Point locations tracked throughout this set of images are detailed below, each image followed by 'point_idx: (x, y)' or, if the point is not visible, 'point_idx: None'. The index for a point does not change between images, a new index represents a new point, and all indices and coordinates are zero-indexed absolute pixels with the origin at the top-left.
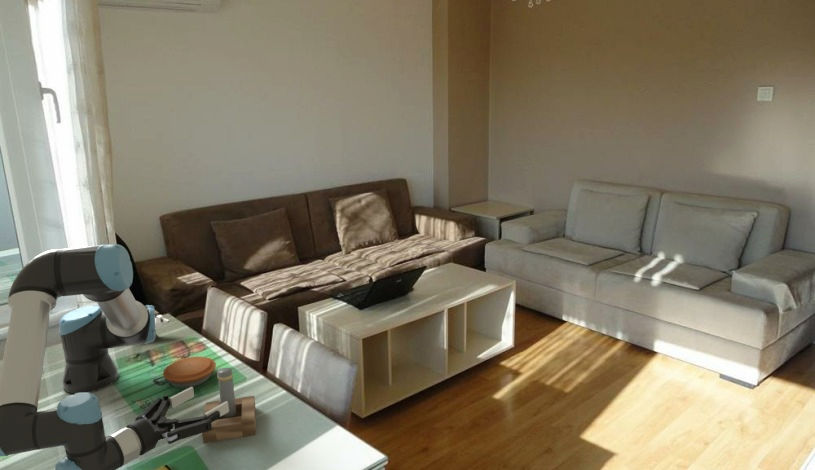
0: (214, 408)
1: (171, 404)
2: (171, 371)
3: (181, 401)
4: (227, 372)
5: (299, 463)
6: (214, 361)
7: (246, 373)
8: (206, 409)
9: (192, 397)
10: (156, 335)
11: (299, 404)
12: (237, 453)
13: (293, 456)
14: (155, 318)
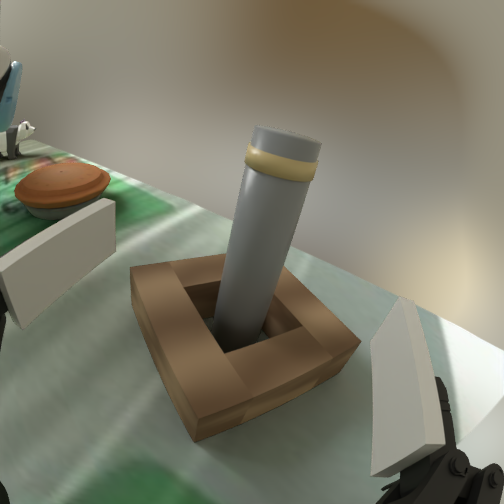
0: (422, 367)
1: (11, 307)
2: (28, 183)
3: (62, 282)
4: (313, 141)
5: (483, 418)
6: (105, 171)
7: (166, 198)
8: (148, 297)
9: (109, 255)
10: (19, 152)
11: (337, 269)
12: (357, 461)
13: (464, 408)
14: (20, 124)
